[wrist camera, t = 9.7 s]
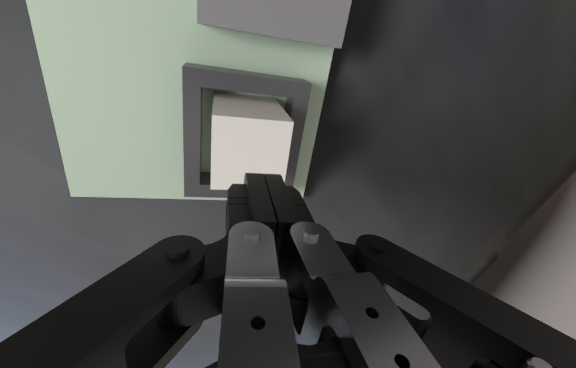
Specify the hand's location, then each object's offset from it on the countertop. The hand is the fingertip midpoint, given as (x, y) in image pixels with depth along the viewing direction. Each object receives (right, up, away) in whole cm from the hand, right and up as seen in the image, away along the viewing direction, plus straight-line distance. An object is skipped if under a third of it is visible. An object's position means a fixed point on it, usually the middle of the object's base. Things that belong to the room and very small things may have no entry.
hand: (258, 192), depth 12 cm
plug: (-2, +5, +8) cm, 9 cm away
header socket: (-2, +4, +8) cm, 9 cm away
